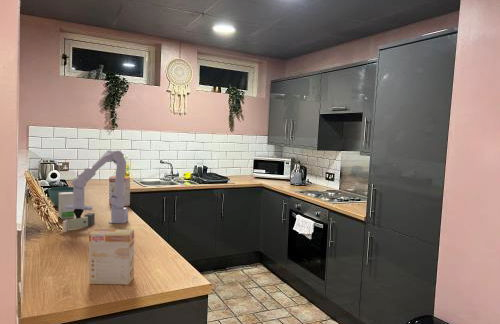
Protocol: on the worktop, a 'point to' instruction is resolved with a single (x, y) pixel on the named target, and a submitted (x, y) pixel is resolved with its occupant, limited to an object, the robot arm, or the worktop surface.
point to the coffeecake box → (111, 256)
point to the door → (78, 223)
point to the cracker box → (125, 190)
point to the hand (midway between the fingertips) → (78, 222)
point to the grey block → (90, 218)
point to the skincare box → (64, 200)
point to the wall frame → (65, 225)
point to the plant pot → (54, 193)
